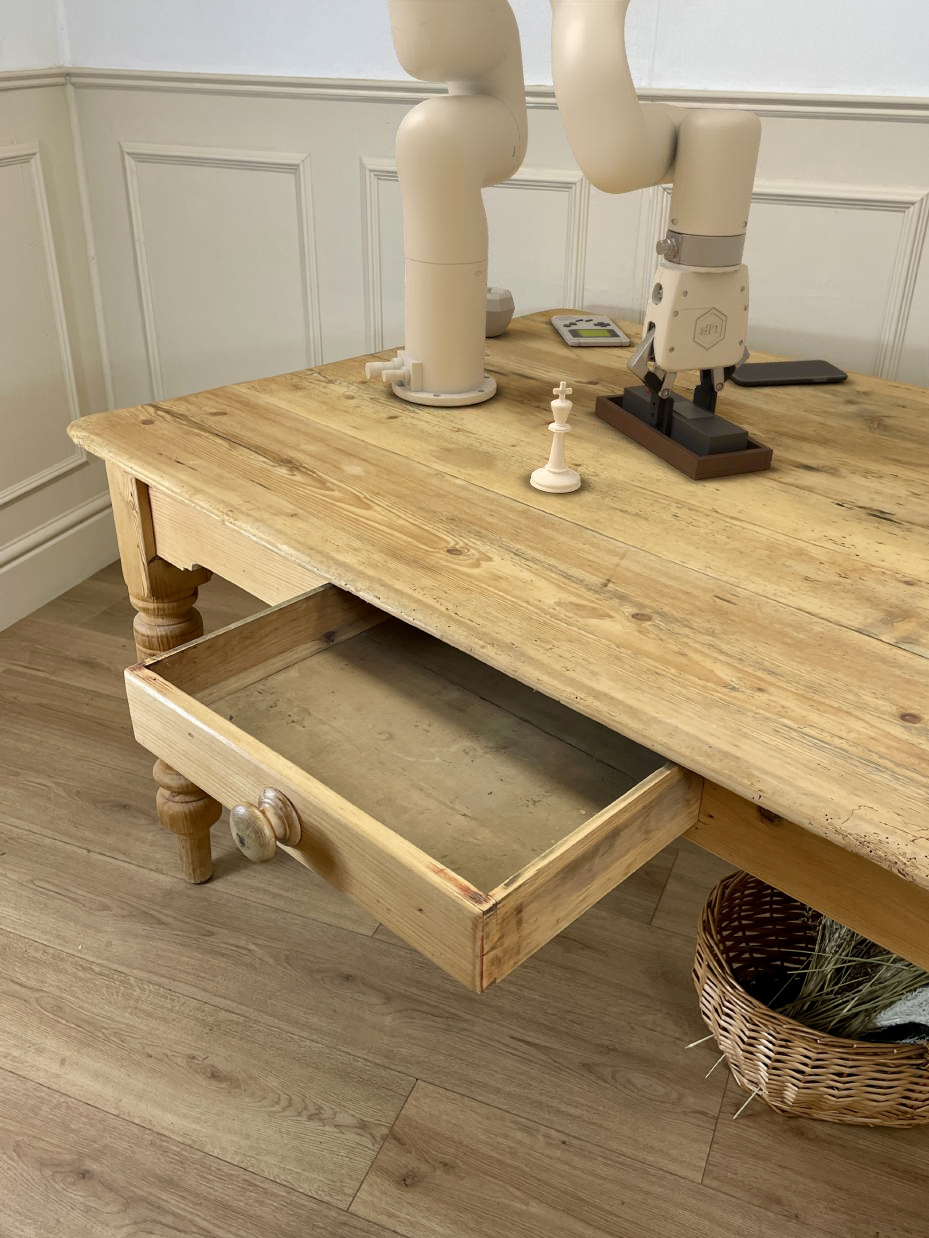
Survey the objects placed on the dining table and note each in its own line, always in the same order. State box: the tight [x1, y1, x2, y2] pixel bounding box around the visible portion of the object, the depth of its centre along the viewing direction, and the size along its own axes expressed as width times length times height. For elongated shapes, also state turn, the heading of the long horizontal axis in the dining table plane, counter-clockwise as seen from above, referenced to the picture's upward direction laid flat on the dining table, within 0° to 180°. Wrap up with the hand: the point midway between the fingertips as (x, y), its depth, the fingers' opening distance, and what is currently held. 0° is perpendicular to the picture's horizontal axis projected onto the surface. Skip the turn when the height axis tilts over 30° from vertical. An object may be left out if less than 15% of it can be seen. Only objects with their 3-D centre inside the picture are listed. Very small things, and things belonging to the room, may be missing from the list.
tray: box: [594, 393, 774, 481], centre depth 107 cm, size 9×21×2 cm, turn 22°
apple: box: [485, 286, 516, 337], centre depth 142 cm, size 8×8×7 cm
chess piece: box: [529, 380, 582, 494], centre depth 94 cm, size 5×5×10 cm
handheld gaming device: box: [551, 314, 631, 347], centre depth 145 cm, size 9×1×15 cm
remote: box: [622, 384, 750, 457], centre depth 106 cm, size 17×5×3 cm, turn 22°
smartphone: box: [729, 359, 849, 387], centre depth 129 cm, size 7×1×15 cm
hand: (680, 426), depth 107 cm, fingers closed on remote, 4 cm apart
